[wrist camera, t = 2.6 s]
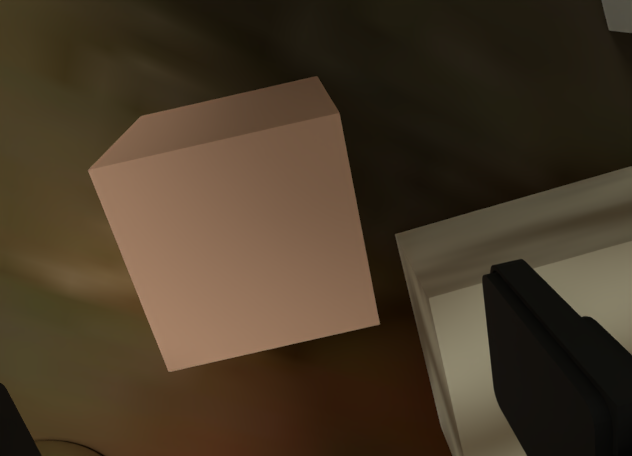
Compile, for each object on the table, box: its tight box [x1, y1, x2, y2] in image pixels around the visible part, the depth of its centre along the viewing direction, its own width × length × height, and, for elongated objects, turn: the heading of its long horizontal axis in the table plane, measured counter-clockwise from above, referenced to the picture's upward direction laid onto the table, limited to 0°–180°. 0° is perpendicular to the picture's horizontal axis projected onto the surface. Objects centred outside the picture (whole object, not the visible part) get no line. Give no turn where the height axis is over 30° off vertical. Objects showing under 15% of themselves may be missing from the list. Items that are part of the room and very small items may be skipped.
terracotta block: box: [88, 76, 380, 372], centre depth 17 cm, size 6×6×6 cm
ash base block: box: [395, 166, 632, 456], centre depth 20 cm, size 10×10×5 cm
